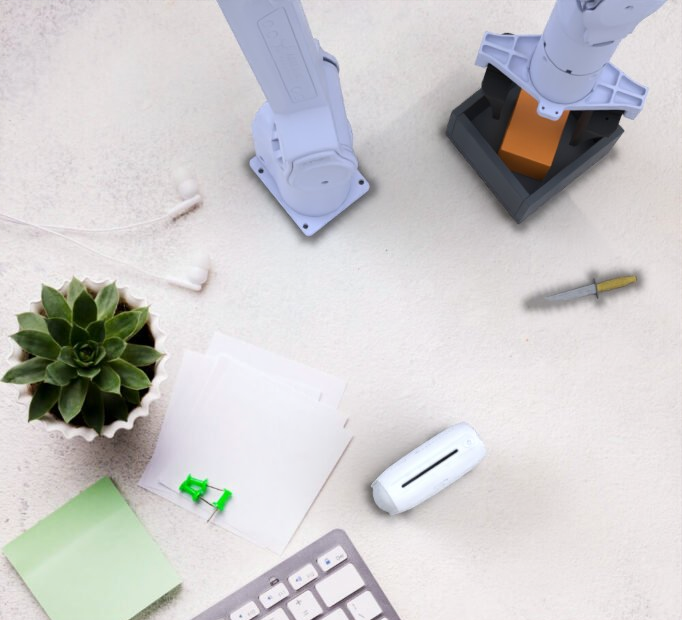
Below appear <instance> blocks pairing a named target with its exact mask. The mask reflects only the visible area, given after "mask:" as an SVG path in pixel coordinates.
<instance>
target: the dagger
mask: <svg viewBox="0 0 682 620" xmlns="http://www.w3.org/2000/svg"><path fill="white" fill-rule="evenodd" d="M637 280H638V277H637V276H636V275H635V274H633V275H631V276H622V277H617V278H613V279H609V280H605V281H603V282H599V283H597V280H596V278H595V277H593V279H592V281H593V283H592V284H588V285H584V286H580V287H578V288H574V289H571V290H570V289H569V290H567V291H563V292H560V293H556V294H553V295H549V296H546V297H543V299H544V300H546V301H555V302H558V301H559V302H560V301H568V300H572V299H576V298H582V297H586V296H591V295H595V296H596V299H599V292H604V291H609V290H614V289H617V288H622V287H624V286H628V285H629V284H632V283H636V282H637Z"/></svg>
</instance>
